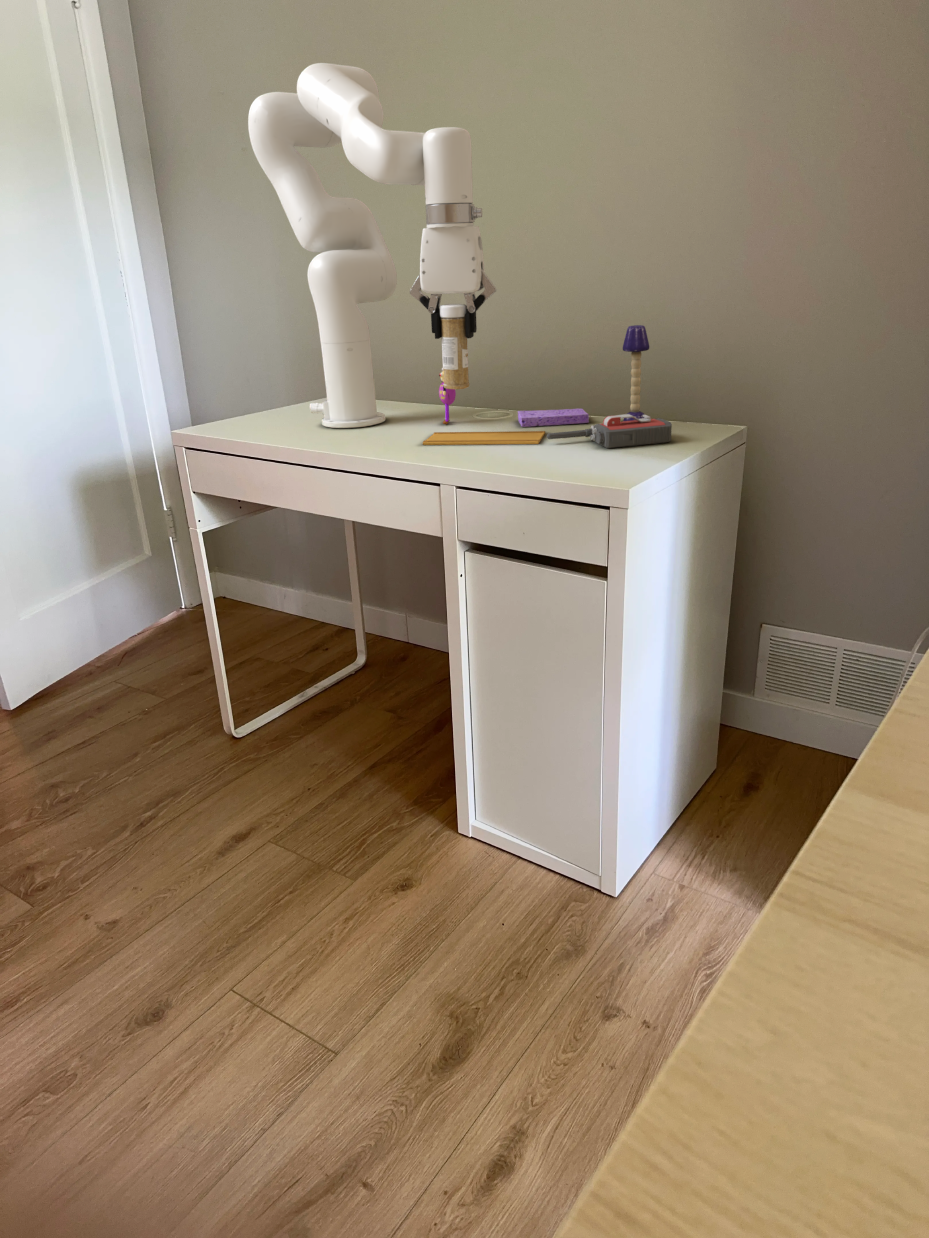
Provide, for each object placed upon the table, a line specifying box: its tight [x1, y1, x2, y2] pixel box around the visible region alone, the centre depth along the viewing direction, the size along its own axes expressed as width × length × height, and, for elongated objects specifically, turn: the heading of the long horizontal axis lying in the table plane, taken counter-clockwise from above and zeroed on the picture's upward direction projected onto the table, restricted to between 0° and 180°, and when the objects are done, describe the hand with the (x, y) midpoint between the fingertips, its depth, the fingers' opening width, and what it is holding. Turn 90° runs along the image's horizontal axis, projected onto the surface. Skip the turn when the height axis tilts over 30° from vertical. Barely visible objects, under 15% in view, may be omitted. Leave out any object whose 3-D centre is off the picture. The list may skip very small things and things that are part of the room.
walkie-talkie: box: [546, 413, 673, 449], centre depth 139 cm, size 9×4×20 cm
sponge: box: [517, 408, 590, 428], centre depth 159 cm, size 7×13×2 cm, turn 91°
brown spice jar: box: [439, 303, 470, 390], centre depth 143 cm, size 5×5×14 cm
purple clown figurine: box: [438, 367, 457, 425], centre depth 161 cm, size 11×3×12 cm, turn 179°
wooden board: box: [422, 430, 546, 446], centre depth 148 cm, size 20×9×1 cm, turn 77°
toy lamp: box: [622, 324, 650, 422], centre depth 152 cm, size 5×5×17 cm
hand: (454, 336), depth 142 cm, fingers closed on brown spice jar, 4 cm apart
